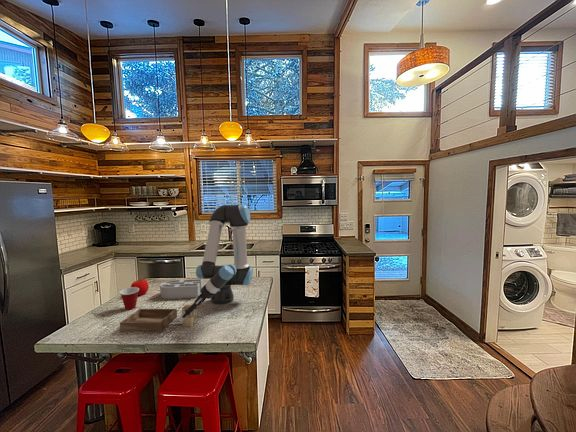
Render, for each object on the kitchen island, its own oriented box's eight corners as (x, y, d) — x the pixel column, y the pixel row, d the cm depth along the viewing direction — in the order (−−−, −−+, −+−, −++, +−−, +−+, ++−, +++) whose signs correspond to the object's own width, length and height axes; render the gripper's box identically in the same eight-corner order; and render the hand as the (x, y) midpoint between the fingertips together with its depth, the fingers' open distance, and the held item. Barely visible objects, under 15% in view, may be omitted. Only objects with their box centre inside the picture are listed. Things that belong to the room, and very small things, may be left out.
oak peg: (186, 321, 152) (185, 304, 151) (195, 322, 151) (194, 304, 151) (182, 326, 147) (181, 308, 146) (191, 326, 147) (190, 308, 146)
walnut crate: (140, 316, 160) (140, 308, 159) (177, 317, 159) (176, 308, 158) (120, 332, 142) (119, 322, 141) (161, 332, 141) (160, 323, 140)
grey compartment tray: (198, 298, 189) (197, 286, 189) (156, 300, 187) (156, 287, 186) (203, 290, 206) (203, 278, 205) (165, 291, 203) (164, 280, 203)
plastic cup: (119, 313, 165) (117, 294, 164) (121, 306, 175) (120, 288, 174) (139, 310, 170) (138, 291, 169) (140, 304, 180) (139, 286, 179)
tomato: (150, 295, 196) (149, 280, 195) (131, 298, 190) (130, 283, 189) (147, 290, 206) (146, 276, 205) (130, 293, 200) (129, 278, 199)
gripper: (209, 300, 138) (179, 331, 140) (220, 288, 156) (193, 315, 158) (199, 290, 138) (169, 321, 140) (211, 279, 156) (184, 306, 158)
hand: (182, 318), depth 149 cm, fingers closed on oak peg, 5 cm apart
